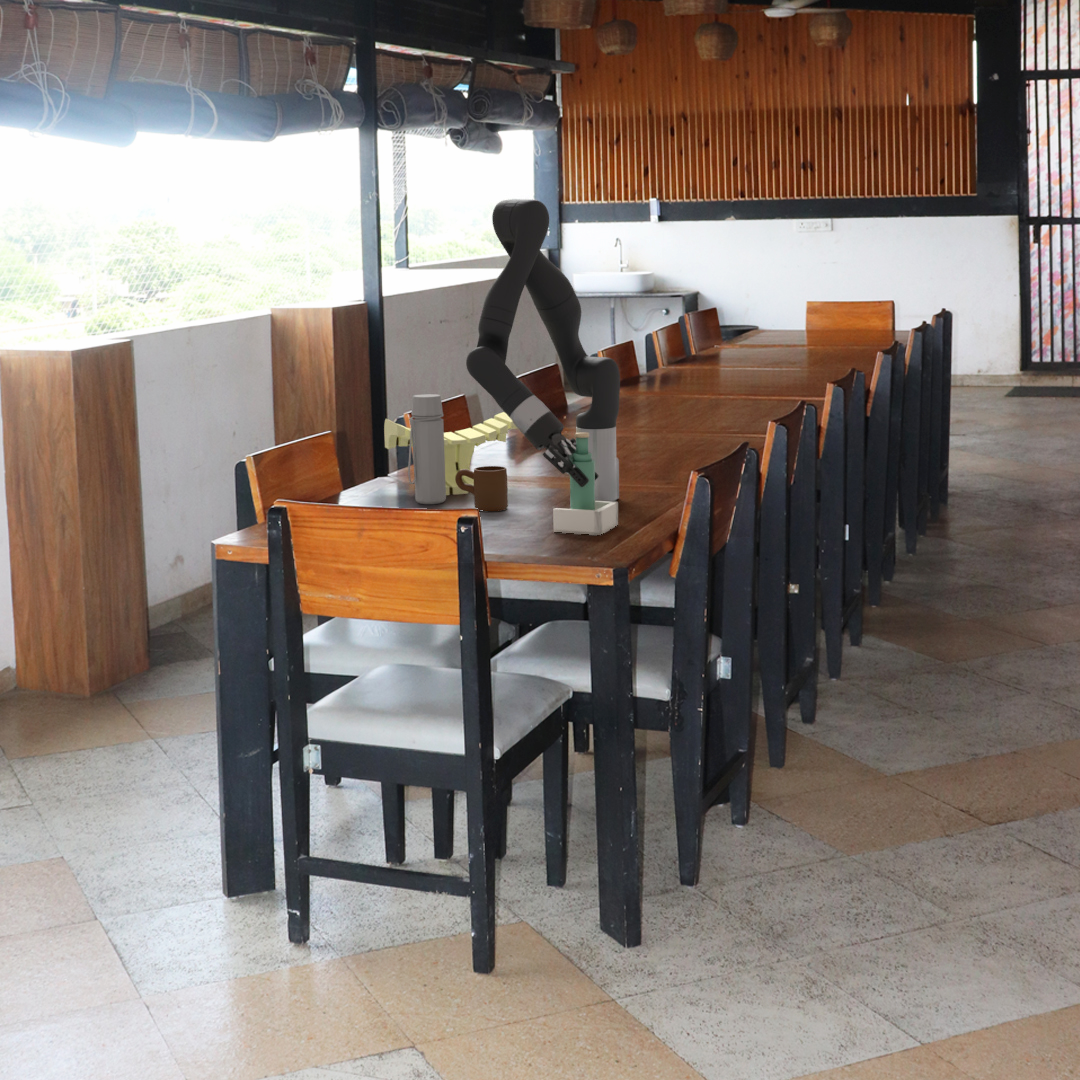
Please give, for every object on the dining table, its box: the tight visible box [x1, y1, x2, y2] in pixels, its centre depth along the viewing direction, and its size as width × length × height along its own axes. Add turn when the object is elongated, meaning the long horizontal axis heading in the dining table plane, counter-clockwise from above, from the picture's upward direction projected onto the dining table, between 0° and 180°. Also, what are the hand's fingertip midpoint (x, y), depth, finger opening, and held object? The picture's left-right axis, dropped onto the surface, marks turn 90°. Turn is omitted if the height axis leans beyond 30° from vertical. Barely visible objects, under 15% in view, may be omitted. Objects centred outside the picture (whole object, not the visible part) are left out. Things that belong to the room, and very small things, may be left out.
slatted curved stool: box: [383, 411, 519, 496], centre depth 334 cm, size 30×16×18 cm, turn 108°
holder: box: [552, 501, 619, 536], centre depth 284 cm, size 10×11×5 cm
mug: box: [455, 465, 509, 512], centre depth 308 cm, size 12×8×9 cm, turn 79°
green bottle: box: [569, 432, 595, 510], centre depth 283 cm, size 5×5×19 cm
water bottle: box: [407, 393, 447, 505], centre depth 316 cm, size 9×8×25 cm
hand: (590, 481), depth 282 cm, fingers closed on green bottle, 5 cm apart
